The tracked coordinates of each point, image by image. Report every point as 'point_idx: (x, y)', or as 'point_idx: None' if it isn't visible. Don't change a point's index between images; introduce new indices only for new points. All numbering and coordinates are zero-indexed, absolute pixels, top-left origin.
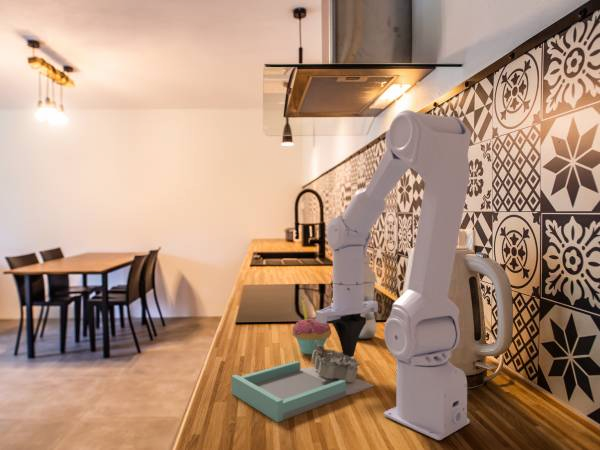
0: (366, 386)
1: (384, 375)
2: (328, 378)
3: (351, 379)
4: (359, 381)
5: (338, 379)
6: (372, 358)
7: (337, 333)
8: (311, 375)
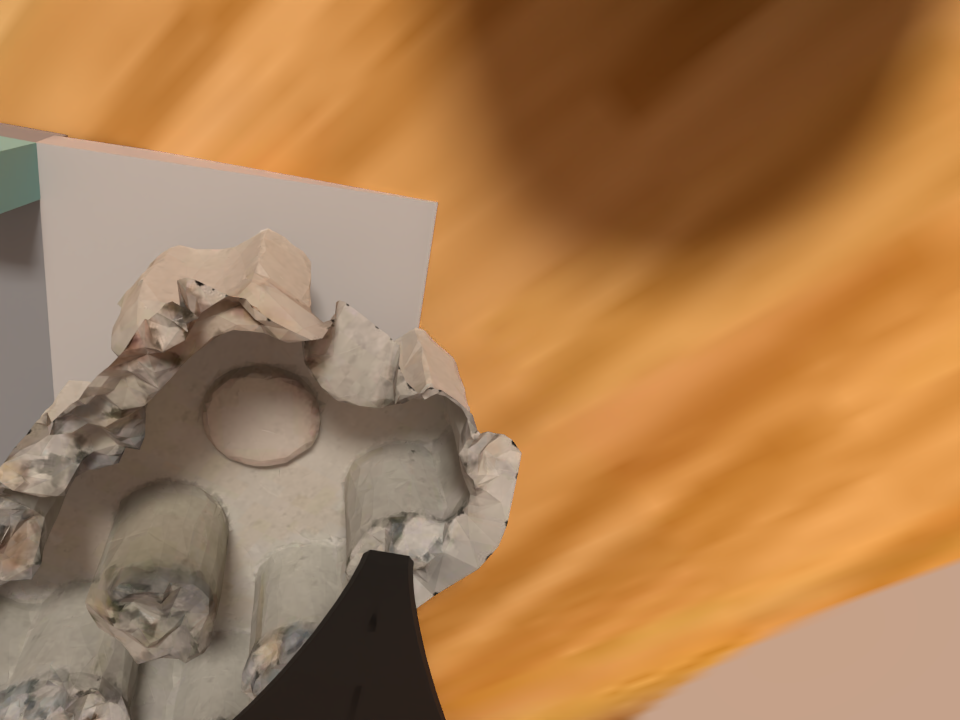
0: None
1: (571, 658)
2: None
3: (210, 648)
4: None
5: None
6: (900, 436)
7: (245, 709)
8: (45, 368)
